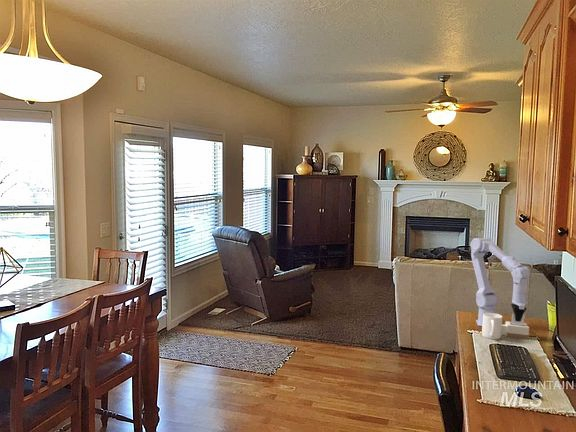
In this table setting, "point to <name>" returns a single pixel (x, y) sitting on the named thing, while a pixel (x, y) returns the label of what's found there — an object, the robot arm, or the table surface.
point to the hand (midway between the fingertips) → (517, 320)
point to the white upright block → (517, 321)
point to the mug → (492, 326)
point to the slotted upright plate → (515, 330)
